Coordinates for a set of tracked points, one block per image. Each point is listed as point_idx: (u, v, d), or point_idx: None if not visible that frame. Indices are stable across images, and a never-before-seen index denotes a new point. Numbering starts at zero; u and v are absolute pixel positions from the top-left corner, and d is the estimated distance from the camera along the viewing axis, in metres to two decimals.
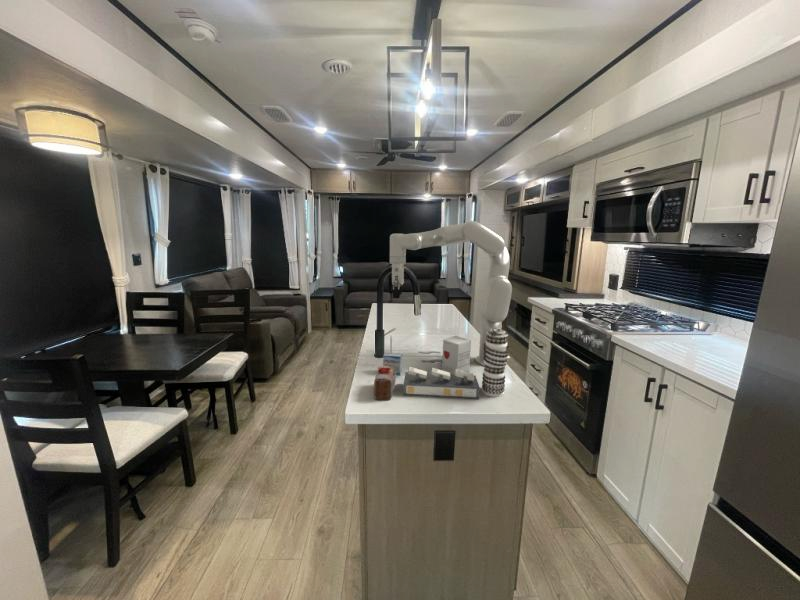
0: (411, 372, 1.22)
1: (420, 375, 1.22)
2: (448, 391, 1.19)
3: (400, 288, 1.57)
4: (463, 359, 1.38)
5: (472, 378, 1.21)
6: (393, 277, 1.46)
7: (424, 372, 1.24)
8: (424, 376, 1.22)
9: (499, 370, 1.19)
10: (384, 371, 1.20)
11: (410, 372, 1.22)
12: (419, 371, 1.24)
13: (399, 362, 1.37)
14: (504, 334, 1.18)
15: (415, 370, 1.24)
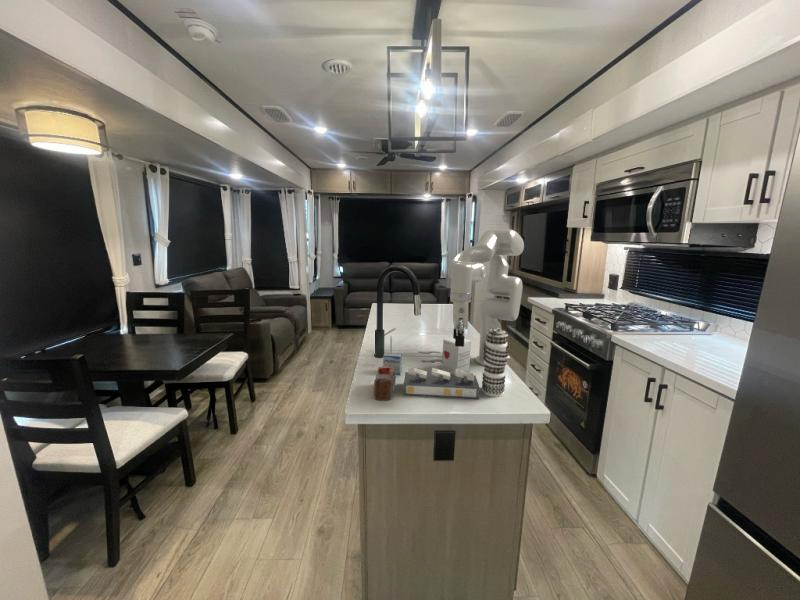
0: (411, 372, 1.22)
1: (420, 375, 1.22)
2: (448, 391, 1.19)
3: None
4: (463, 359, 1.38)
5: (472, 378, 1.21)
6: (456, 320, 1.14)
7: (424, 372, 1.24)
8: (424, 376, 1.22)
9: (499, 370, 1.19)
10: (384, 371, 1.20)
11: (410, 372, 1.22)
12: (419, 371, 1.24)
13: (399, 362, 1.37)
14: (504, 334, 1.18)
15: (415, 370, 1.24)
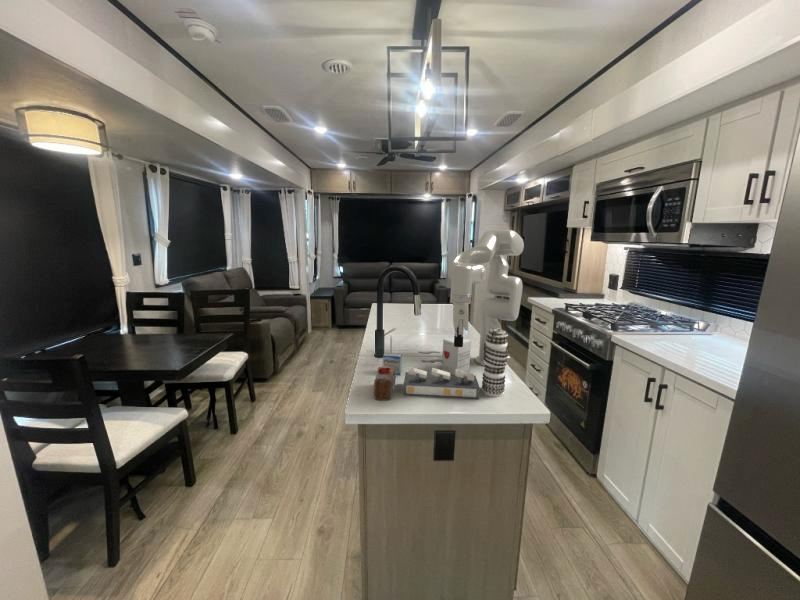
0: (411, 372, 1.22)
1: (420, 375, 1.22)
2: (448, 391, 1.19)
3: None
4: (463, 359, 1.38)
5: (472, 378, 1.21)
6: (457, 321, 1.14)
7: (424, 372, 1.24)
8: (424, 376, 1.22)
9: (499, 370, 1.19)
10: (384, 371, 1.20)
11: (410, 372, 1.22)
12: (419, 371, 1.24)
13: (399, 362, 1.37)
14: (504, 334, 1.18)
15: (415, 370, 1.24)
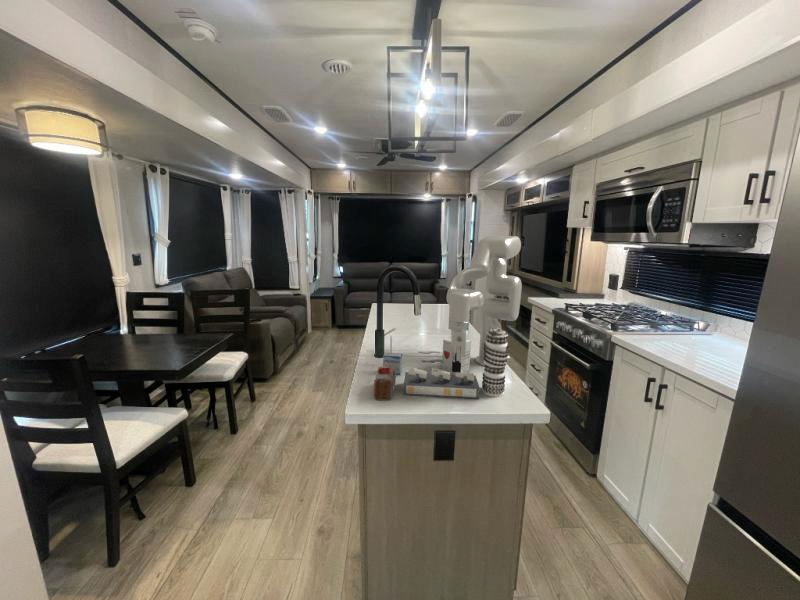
0: (411, 372, 1.22)
1: (420, 375, 1.22)
2: (448, 391, 1.19)
3: None
4: (463, 359, 1.38)
5: (472, 378, 1.21)
6: (454, 348, 1.16)
7: (424, 372, 1.24)
8: (424, 376, 1.22)
9: (499, 370, 1.19)
10: (384, 371, 1.20)
11: (410, 372, 1.22)
12: (419, 371, 1.24)
13: (399, 362, 1.37)
14: (504, 334, 1.18)
15: (415, 370, 1.24)
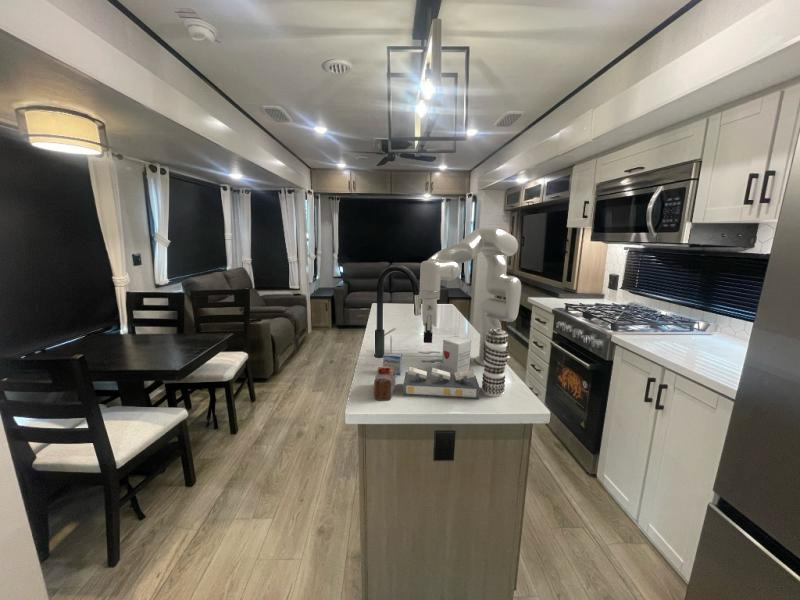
0: (411, 372, 1.22)
1: (420, 375, 1.22)
2: (448, 391, 1.19)
3: None
4: (463, 359, 1.38)
5: (472, 374, 1.20)
6: (425, 317, 1.14)
7: (424, 372, 1.24)
8: (424, 376, 1.22)
9: (499, 370, 1.19)
10: (384, 371, 1.20)
11: (410, 372, 1.22)
12: (419, 371, 1.24)
13: (399, 362, 1.37)
14: (504, 334, 1.18)
15: (415, 370, 1.24)
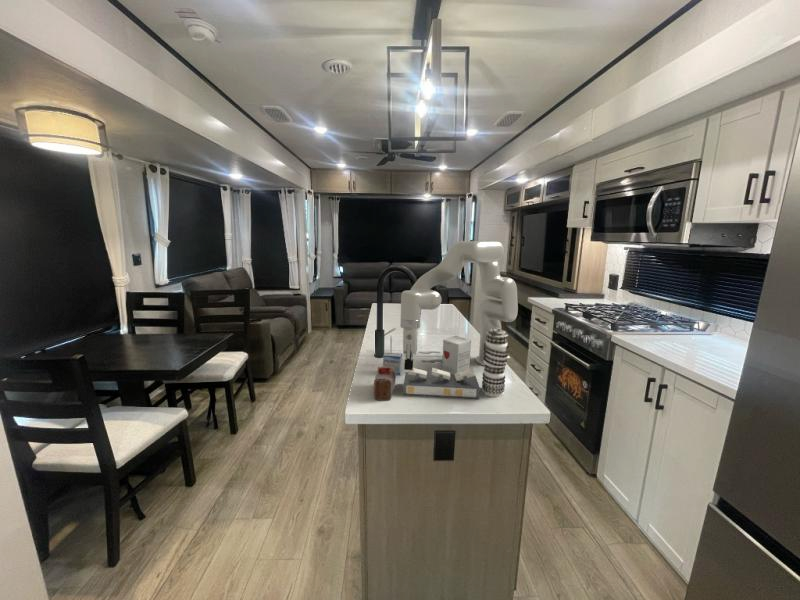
0: (411, 372, 1.22)
1: (420, 375, 1.22)
2: (448, 391, 1.19)
3: None
4: (463, 359, 1.38)
5: (472, 374, 1.20)
6: (405, 345, 1.17)
7: (424, 372, 1.24)
8: (424, 376, 1.22)
9: (499, 370, 1.19)
10: (384, 371, 1.20)
11: (410, 372, 1.22)
12: (419, 371, 1.24)
13: (399, 362, 1.37)
14: (504, 334, 1.18)
15: (415, 370, 1.24)
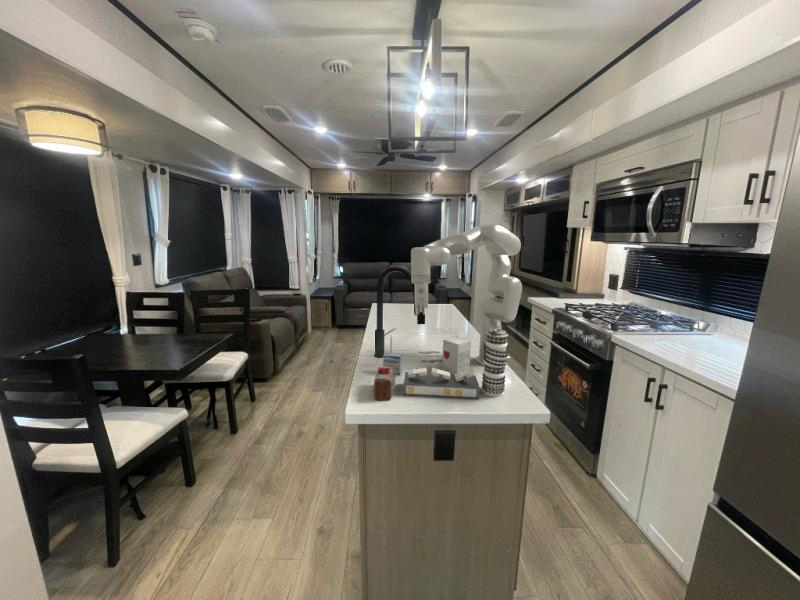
0: (411, 375, 1.23)
1: (420, 374, 1.22)
2: (448, 391, 1.19)
3: None
4: (463, 359, 1.38)
5: (471, 373, 1.20)
6: (417, 300, 1.23)
7: (423, 369, 1.24)
8: (424, 373, 1.22)
9: (499, 370, 1.19)
10: (384, 371, 1.20)
11: (410, 375, 1.23)
12: (418, 370, 1.24)
13: (399, 362, 1.37)
14: (504, 334, 1.18)
15: (414, 371, 1.24)
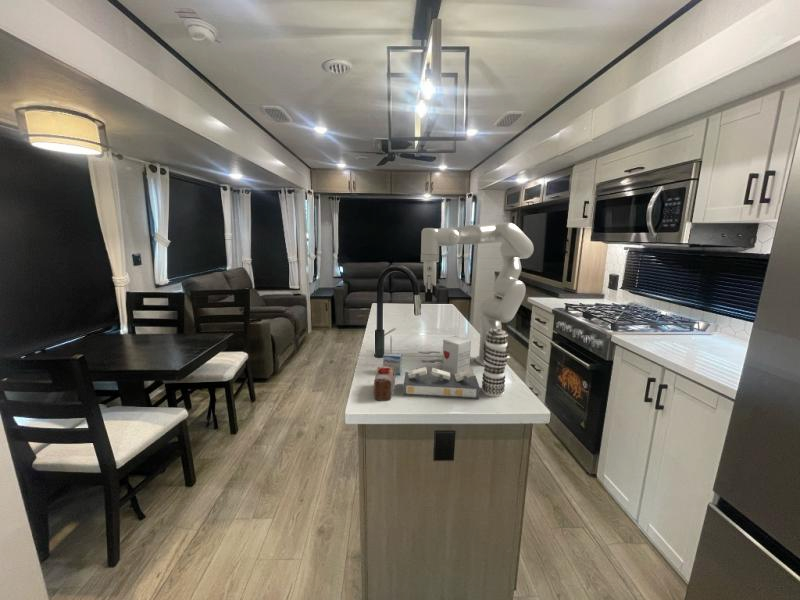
0: (411, 375, 1.23)
1: (420, 373, 1.22)
2: (448, 391, 1.19)
3: None
4: (463, 359, 1.38)
5: (471, 373, 1.20)
6: (425, 277, 1.30)
7: (423, 369, 1.24)
8: (424, 372, 1.22)
9: (499, 370, 1.19)
10: (384, 371, 1.20)
11: (410, 376, 1.23)
12: (418, 370, 1.24)
13: (399, 362, 1.37)
14: (504, 334, 1.18)
15: (414, 371, 1.24)
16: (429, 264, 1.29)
